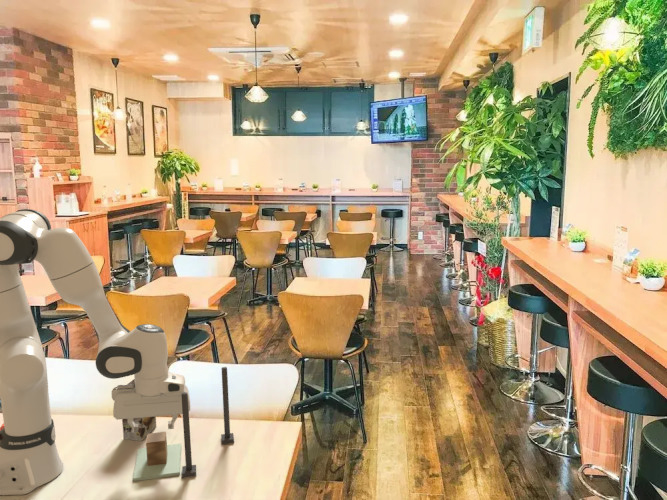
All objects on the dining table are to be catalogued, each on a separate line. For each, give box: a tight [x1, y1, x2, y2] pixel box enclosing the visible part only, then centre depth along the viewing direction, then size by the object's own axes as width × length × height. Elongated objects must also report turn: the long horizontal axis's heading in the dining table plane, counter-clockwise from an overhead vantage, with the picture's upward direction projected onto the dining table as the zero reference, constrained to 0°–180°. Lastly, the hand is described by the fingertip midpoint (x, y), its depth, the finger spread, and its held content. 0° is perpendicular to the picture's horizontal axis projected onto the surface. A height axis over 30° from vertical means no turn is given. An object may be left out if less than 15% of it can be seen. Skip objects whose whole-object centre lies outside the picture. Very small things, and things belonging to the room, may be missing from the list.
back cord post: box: [220, 366, 235, 445], centre depth 166 cm, size 4×4×23 cm
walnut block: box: [145, 431, 168, 466], centre depth 157 cm, size 5×5×7 cm
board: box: [132, 443, 182, 482], centre depth 157 cm, size 12×15×1 cm
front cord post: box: [181, 392, 197, 479], centre depth 150 cm, size 4×4×23 cm
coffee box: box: [121, 379, 157, 442], centre depth 172 cm, size 9×6×16 cm
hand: (153, 429), depth 155 cm, fingers open, 8 cm apart
